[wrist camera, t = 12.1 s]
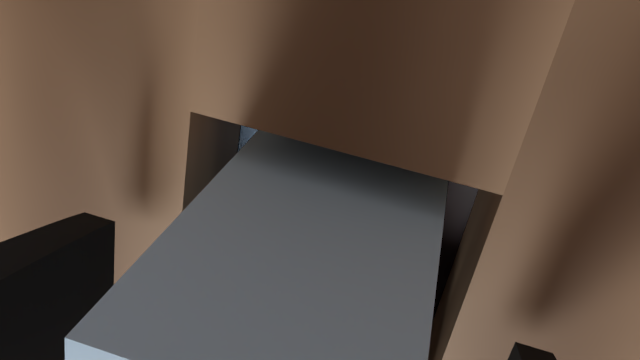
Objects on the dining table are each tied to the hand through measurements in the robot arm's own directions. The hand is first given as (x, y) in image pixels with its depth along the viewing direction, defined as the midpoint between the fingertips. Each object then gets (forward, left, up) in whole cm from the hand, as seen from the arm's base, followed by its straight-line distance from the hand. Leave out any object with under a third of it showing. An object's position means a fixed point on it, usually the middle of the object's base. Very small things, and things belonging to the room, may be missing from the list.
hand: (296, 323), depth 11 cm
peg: (0, 0, -4) cm, 4 cm away
